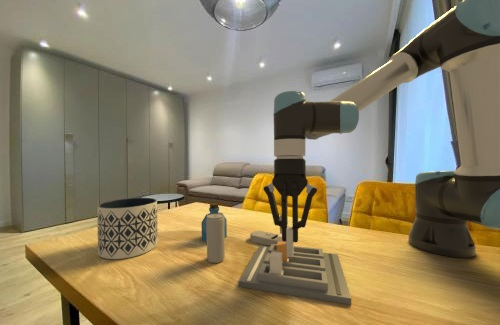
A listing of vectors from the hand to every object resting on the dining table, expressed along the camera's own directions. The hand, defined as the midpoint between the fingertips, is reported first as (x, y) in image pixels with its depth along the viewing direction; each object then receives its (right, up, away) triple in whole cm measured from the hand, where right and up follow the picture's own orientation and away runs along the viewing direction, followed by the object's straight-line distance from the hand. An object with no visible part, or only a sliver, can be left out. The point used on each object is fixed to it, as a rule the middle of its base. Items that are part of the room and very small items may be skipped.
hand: (290, 254), depth 51 cm
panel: (+1, -4, 0) cm, 4 cm away
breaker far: (-1, -3, +7) cm, 7 cm away
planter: (-47, -4, +14) cm, 49 cm away
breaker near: (-4, -3, -5) cm, 7 cm away
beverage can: (-19, -4, +6) cm, 20 cm away
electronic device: (-3, -4, +17) cm, 18 cm away
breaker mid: (-2, -3, +1) cm, 3 cm away
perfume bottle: (-22, -4, +21) cm, 31 cm away
